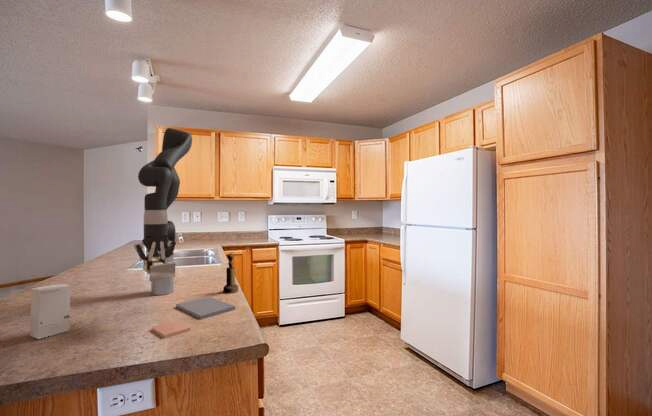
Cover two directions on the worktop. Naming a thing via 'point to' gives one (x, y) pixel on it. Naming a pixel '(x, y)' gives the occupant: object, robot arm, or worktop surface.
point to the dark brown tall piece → (230, 276)
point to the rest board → (205, 307)
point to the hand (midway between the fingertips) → (155, 270)
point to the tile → (170, 329)
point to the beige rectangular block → (159, 270)
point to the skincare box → (50, 310)
